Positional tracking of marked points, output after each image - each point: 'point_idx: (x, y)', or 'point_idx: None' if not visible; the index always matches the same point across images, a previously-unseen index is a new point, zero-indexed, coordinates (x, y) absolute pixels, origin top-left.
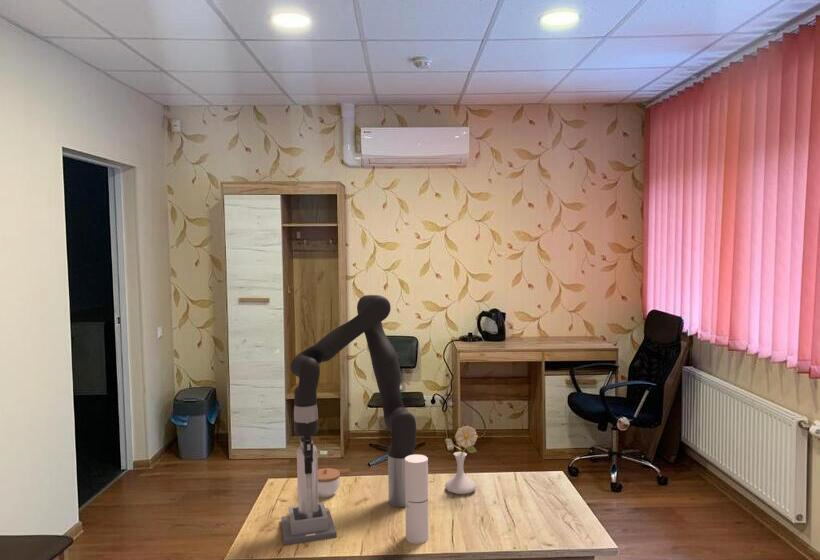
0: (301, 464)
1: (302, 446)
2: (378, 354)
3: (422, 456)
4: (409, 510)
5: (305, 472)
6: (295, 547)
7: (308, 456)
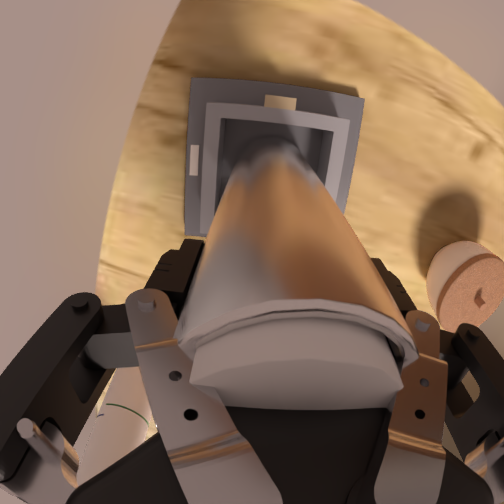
0: (212, 250)
1: (163, 446)
2: None
3: None
4: (108, 398)
5: (184, 244)
6: (168, 108)
7: None
